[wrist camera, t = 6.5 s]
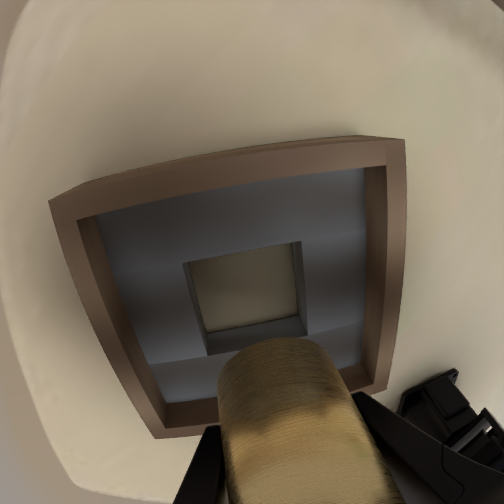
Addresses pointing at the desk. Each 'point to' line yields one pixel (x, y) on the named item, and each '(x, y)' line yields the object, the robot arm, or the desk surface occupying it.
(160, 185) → the bore box
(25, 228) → the desk surface
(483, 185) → the desk surface
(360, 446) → the peg
